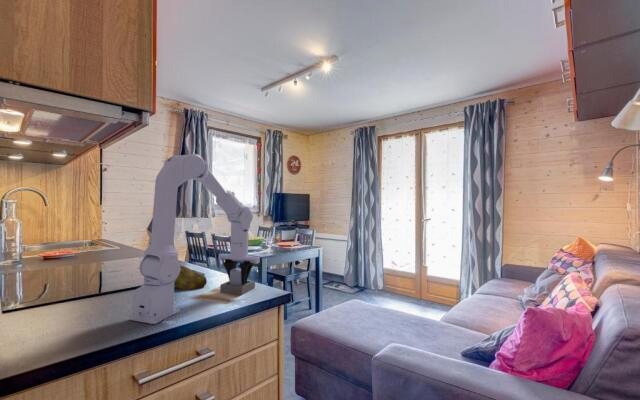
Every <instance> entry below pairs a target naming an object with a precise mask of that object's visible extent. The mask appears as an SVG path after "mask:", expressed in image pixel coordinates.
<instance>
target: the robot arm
mask: <svg viewBox="0 0 640 400" xmlns="http://www.w3.org/2000/svg"><path fill="white" fill-rule="evenodd" d="M189 180H193V181H197V182H200V183H201V185H203V187H205V188H206V189H207V190H208V191H209V192H210V193H211V194H212V195H213V196H214V197H215V202H216V204H217V205H218V206H219V207H220V208H221V210H222V211H224V212H225V214H226V217H227V220H228V222H230V251H229V253H219V254H218V261H224V262H223V263H222V266H223V267H224V269H225V271H226V273H227V276H228V281H230V270H233V269H235V268H237V264H238V262H242V263H240V264H239V268H241V282H242V284H243V285H244V284H246V283H247V280H249V275H250V272H251V270H252V268H253V266H254V265H255V264H257V265H258V264H260V260H261V259H260V258H261V257H260V256H256V255H250V254H249V230H250V228H251V222H252V221H253V217H254V215H253V213H252V211H251V210H250V208H248V207H247V206H244V205H243V202H242V201H240V200H239V199H238V198H237V197H236V196H235V195H236V194H235V192H234V191H231V190H225V188H224V187H223V186H222V184H221V183H220V182H219V181H218V179H217V178H216V177H215V175H214V174H213V173H212V172H211V170H210V168H209V163H208V162H206V161H205V160H204V158H203V157H202V156H201V155H199V154H198V153H191V154H183V155H178V154H177V155H176V154H175V155H172V156H170V157H169V158H166V159H165V160H164V161H163V165H162V167H161V169H160V171H159V172H158V173H157V175H156V176H155V181H154V182H155V183H154V184H155V185H154V196H153V197H154V198H153V207H152V208H153V209H152V210H153V211H152V220H151V221H152V222H151V235H150V245H148V247H146V249H145V250H144V251H143V252H144V253H143V257H142V259H141V261H140V263H139V266H138V267H139V273H140V274H141V275H142V276H143V284H142V285H141V286H140V287H137V288H136V289H135V291H134V292H133V294H132V309H131V310H132V314H131V317H129V320H130V321H133V322H140V323H146V324H150V325H151V324H152V325H155V324H158V323H160V322H162V321H164V320H165V319H167V318H168V317H170V316H172V315H175V314H177V313H179V312H181V309H178V308H177V309H176V308H174V307H175V305H174V303H175V302H174V301H175V286H174V282H175V279H176V278H177V277H178V275H179V273H180V261H179V252H178V250H177V249H176V247H175V245H174V241H175V229H176V228H175V226H176V215H177V213H176V212H177V204H178V203H177V201H178V188H179V187H180V186H181V185H183V184H184V183H185V182H187V181H189Z"/></svg>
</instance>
